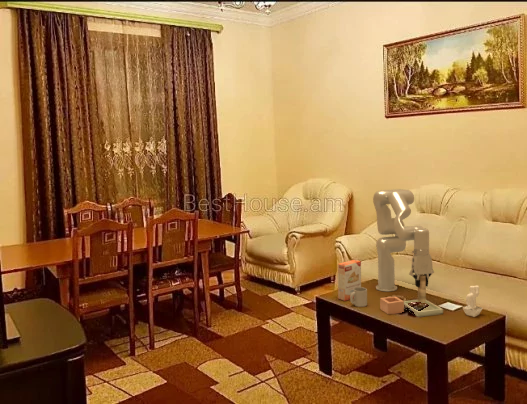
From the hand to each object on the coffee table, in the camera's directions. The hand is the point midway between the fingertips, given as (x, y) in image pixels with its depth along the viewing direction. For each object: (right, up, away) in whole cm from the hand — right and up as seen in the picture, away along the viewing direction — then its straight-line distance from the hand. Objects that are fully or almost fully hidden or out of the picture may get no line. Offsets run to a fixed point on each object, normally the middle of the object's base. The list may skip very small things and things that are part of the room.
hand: (421, 285), depth 268 cm
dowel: (0, -8, +1) cm, 8 cm away
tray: (0, -13, +2) cm, 13 cm away
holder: (-15, -14, +2) cm, 20 cm away
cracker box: (-33, -11, +27) cm, 44 cm away
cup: (-31, -13, +13) cm, 36 cm away
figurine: (+23, -14, -8) cm, 28 cm away
